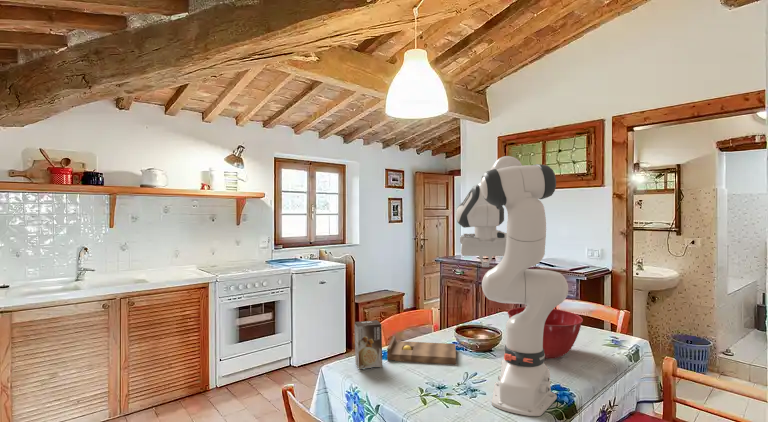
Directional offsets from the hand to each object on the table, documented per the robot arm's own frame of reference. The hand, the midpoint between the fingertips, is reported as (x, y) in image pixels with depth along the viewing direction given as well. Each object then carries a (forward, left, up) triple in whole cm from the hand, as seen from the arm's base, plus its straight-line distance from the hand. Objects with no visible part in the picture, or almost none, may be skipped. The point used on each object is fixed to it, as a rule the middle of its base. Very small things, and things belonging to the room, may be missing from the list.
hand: (485, 266), depth 170 cm
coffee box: (-40, +33, -34) cm, 62 cm away
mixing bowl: (+6, -22, -34) cm, 41 cm away
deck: (-20, +20, -34) cm, 44 cm away
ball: (-22, +26, -32) cm, 47 cm away
